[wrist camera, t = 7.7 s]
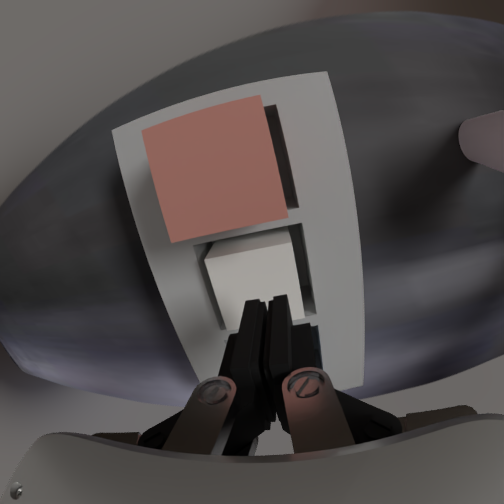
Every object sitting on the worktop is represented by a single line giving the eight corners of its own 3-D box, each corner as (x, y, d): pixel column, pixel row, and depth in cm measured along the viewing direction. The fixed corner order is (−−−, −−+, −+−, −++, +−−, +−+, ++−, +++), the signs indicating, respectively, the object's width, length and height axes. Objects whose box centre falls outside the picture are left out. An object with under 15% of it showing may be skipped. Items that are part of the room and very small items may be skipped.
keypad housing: (311, 92, 16) (326, 71, 11) (349, 345, 23) (363, 385, 18) (148, 134, 18) (111, 130, 13) (221, 365, 24) (212, 406, 19)
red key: (263, 114, 12) (260, 94, 8) (282, 198, 14) (288, 217, 10) (178, 136, 13) (141, 130, 9) (199, 216, 14) (171, 243, 10)
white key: (286, 220, 18) (291, 242, 13) (297, 282, 19) (305, 318, 15) (219, 234, 18) (204, 259, 14) (235, 293, 20) (227, 330, 15)
